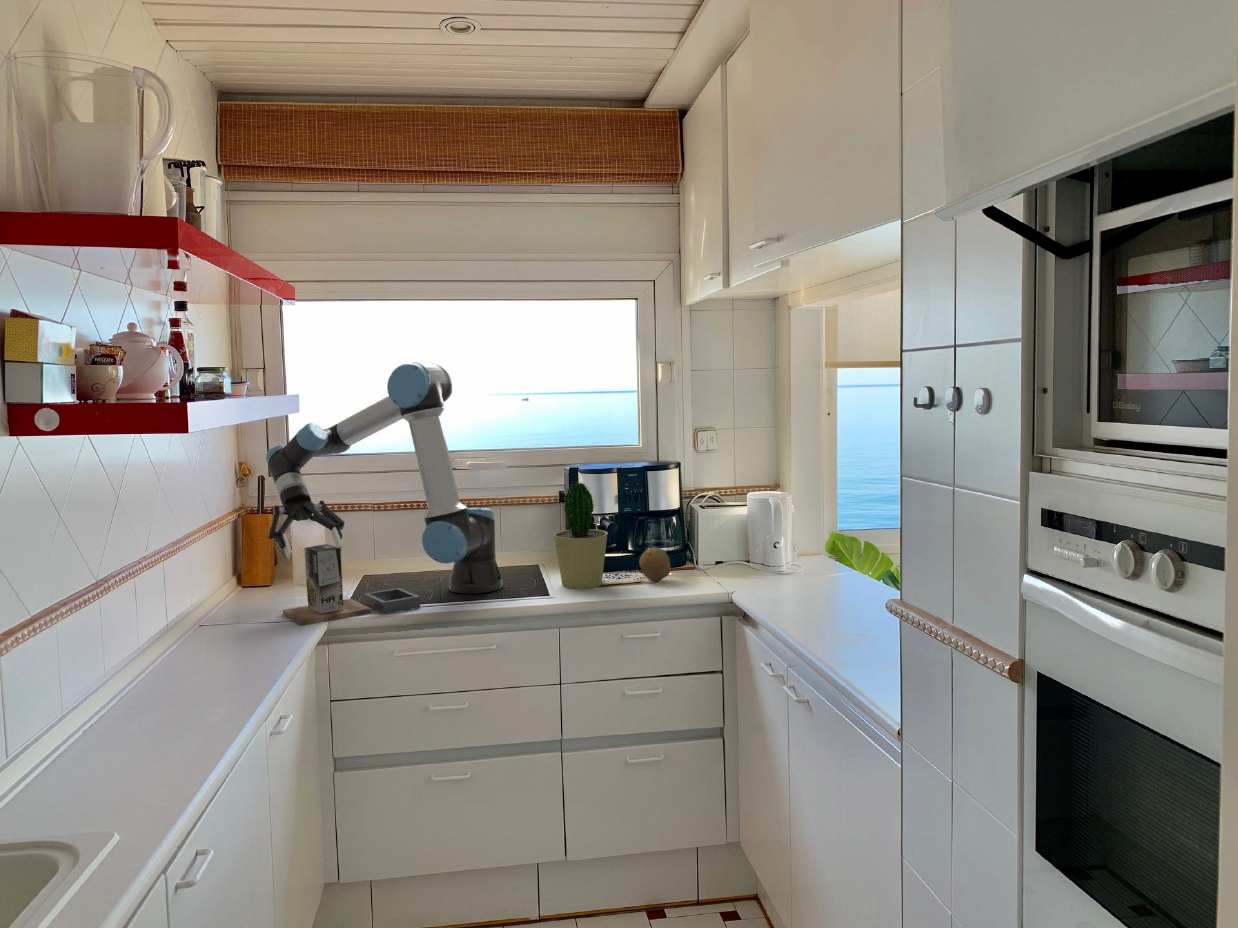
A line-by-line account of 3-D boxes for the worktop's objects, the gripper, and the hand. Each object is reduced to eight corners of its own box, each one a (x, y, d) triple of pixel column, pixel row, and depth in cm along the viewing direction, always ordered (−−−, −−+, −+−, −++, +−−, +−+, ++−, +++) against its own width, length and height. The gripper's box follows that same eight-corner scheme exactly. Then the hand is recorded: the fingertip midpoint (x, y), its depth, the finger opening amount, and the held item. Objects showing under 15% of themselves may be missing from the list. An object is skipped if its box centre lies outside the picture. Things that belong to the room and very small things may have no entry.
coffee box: (344, 610, 236) (341, 547, 234) (320, 614, 232) (316, 551, 230) (331, 603, 243) (328, 543, 241) (307, 608, 239) (303, 546, 237)
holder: (399, 598, 252) (399, 587, 252) (420, 607, 242) (419, 596, 241) (364, 604, 246) (363, 593, 246) (383, 614, 236) (383, 602, 235)
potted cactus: (616, 587, 260) (614, 481, 257) (563, 592, 255) (560, 484, 252) (599, 576, 274) (596, 476, 271) (549, 581, 269) (545, 479, 266)
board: (351, 602, 248) (350, 598, 248) (371, 612, 237) (370, 608, 237) (282, 614, 238) (282, 609, 238) (300, 625, 227) (300, 620, 226)
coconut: (641, 577, 271) (640, 544, 270) (671, 577, 270) (670, 544, 269) (638, 584, 262) (638, 550, 261) (670, 584, 261) (669, 550, 260)
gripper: (334, 496, 267) (357, 554, 256) (244, 506, 252) (265, 568, 241) (339, 479, 262) (363, 537, 251) (248, 488, 247) (270, 550, 236)
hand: (315, 552), depth 246 cm, fingers open, 13 cm apart
